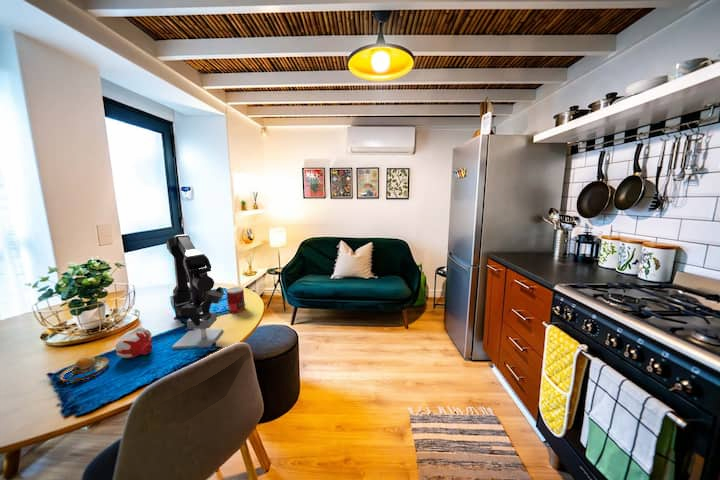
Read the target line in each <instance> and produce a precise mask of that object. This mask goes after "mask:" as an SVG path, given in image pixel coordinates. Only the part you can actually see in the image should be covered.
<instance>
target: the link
mask: <svg viewBox="0 0 720 480" xmlns="http://www.w3.org/2000/svg"><path fill="white" fill-rule="evenodd" d="M217 319H218V318H217V312H216V311H209V312H206V313H203V312H201V313H200V323H199V326H196V325H195V324H194V323H193V322H192V321H191V320H190V318H187V320H186V324H187V325H186V326H187V327H186V328H187V330H195V329H196V330H200V329H201V328H206V329H210V328H211V326H213V324H214V323H215V322H217Z"/></svg>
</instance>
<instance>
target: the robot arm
mask: <svg viewBox="0 0 720 480" xmlns="http://www.w3.org/2000/svg"><path fill="white" fill-rule="evenodd" d="M166 249H167V250H168V253H170V254H171V256H172V257H173V264H174V275H175V283H176V286H174V288H173V290H172V296H171V300H170V304H171V306H172V307H173V308H174V312H175V316H174V317H173V319H174V320H182V319H185V320H186V319H190V320H191V321H192V322H193V323H194V324H195V325H196V326H199V323H200V313H206V312H211V306H212V303H213V304H215V305H216V304H217V305H218V304H219V303H220V302H221V301H222V299H223V296H224V295H225V293H224V289H223V287H222V286H221V287H220V286H219V287H217V288H214V285H215V280H214V279H213V278H212V277H211V276H210V275H208V273H209V272H212V269H211V268H212V264H211V262H210V260H209V258H208V257H207V255H205V253H203V251H201V250H198V249H196V247H195V246H194V243H193V242H192V241H191V238H190V234H177V235H175V236H173V237H171V238H169V239H167V241H166ZM188 281H189V283H188ZM213 288H214V289H213Z"/></svg>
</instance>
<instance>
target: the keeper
mask: <svg viewBox="0 0 720 480" xmlns="http://www.w3.org/2000/svg"><path fill="white" fill-rule="evenodd" d="M223 331H224V329H223V328H218V329H217V328H216V329H207V328H201V329H196V330H195V329H192V330H188V331H187V332H186V333H184V335H182V337H181V338H180V339H179V340H177V341H176V342H175V343H174V344H173V345H172V346H171V349H172V350H178V349H180V350H182V349H192V348H191V347H199V348H211V347H212V345H214V343H215V341H216V340H217V339H218V338H219V337H220V335H221V334H222V333H223ZM181 348H182V349H181Z"/></svg>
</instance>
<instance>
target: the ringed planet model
mask: <svg viewBox="0 0 720 480" xmlns="http://www.w3.org/2000/svg"><path fill="white" fill-rule="evenodd" d="M97 356H98V355H94V356H91V355H84V356H82V357H80V358H78V359H77V361H76V362H75V363H74V364H73V365H70V367H68V368H66V369H65V370H63V371H62V372H61V373H60V374H59V375H58V377H57V379H58V381H59V380H60V381H62V382H63V383H64V382H72V381H78V382H80V381H79V380H82V379H86V378H88V377H91V378H93V377H92V376H94V375H96V374H97V373H99V372H101V371H103V370H104V369H106V368H107V367H108V363H109V362H110V359H109V357H106V356H98V357H97ZM73 369H74V371H72V370H73ZM94 369H95V372H94V373H91V374H89V375H87V376H84V377H81V378H77V379H72V380H65V379H63V377H64V375H65V374H66V373H68V372H70V371H72V373H73V374H72V373H70V374H72V376H70V377H74V376H75V375H78V374H85V373H87V372H90V371H91V370H93V371H94Z"/></svg>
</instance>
